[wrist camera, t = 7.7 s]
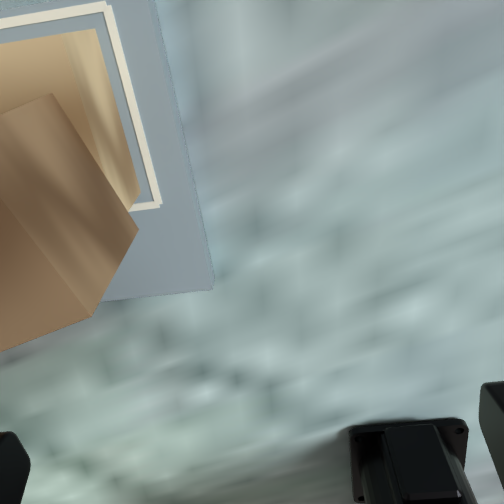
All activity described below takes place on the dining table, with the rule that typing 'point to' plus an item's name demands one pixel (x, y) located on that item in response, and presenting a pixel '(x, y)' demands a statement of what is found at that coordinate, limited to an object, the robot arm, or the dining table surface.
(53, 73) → the oak base block
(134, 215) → the mat
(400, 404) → the dining table surface
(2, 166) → the walnut cube
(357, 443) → the robot arm
